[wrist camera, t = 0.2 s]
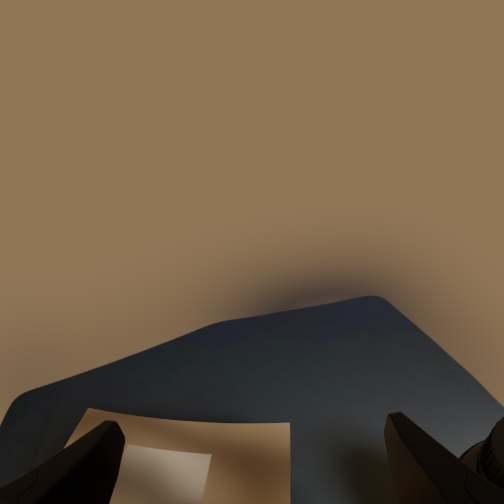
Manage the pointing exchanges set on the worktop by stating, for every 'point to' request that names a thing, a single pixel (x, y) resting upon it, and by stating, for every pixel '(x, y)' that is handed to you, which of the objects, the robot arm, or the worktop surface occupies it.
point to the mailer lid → (197, 461)
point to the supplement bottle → (488, 456)
